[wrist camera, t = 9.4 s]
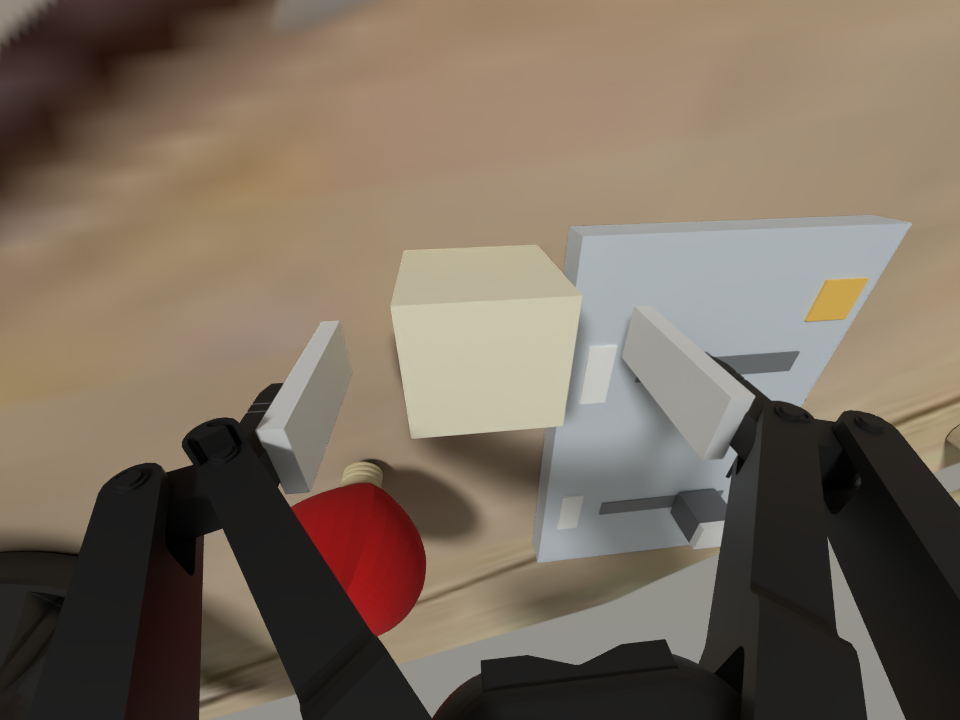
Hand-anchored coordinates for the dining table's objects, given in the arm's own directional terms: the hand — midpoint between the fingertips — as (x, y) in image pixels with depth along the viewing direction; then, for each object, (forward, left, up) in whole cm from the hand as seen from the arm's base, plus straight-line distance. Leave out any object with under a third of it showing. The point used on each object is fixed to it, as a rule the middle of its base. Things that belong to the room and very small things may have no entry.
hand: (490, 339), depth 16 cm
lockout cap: (0, 0, -4) cm, 4 cm away
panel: (+13, -10, -4) cm, 17 cm away
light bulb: (-8, -12, -5) cm, 15 cm away
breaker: (+17, -17, -2) cm, 24 cm away
